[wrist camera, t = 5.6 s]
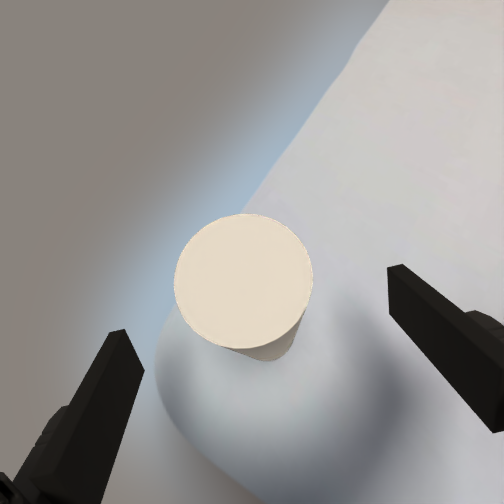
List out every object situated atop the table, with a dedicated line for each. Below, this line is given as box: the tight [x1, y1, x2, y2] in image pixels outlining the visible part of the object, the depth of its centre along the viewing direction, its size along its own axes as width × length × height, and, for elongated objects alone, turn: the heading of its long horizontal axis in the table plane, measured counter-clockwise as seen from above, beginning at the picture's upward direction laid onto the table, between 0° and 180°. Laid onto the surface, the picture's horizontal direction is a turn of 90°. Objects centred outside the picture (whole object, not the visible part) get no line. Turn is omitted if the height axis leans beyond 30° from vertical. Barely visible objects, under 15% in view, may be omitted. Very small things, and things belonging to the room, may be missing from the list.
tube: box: [174, 214, 313, 361], centre depth 16 cm, size 4×4×15 cm
